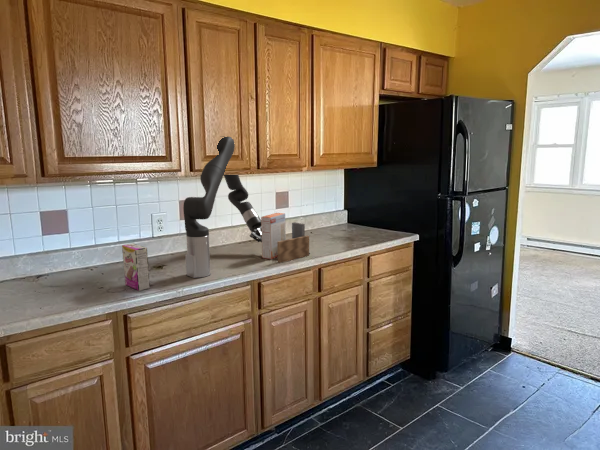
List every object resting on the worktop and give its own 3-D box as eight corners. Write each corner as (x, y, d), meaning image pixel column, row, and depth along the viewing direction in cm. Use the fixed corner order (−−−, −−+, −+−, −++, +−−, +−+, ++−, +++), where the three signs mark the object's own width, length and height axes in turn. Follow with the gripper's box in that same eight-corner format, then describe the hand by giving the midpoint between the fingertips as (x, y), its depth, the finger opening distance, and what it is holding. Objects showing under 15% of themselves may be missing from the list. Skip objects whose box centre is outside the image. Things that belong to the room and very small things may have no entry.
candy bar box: (124, 285, 169) (121, 244, 166) (136, 282, 173) (133, 242, 170) (138, 291, 162) (135, 249, 159) (150, 288, 165) (147, 247, 162)
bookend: (301, 256, 214) (301, 224, 211) (292, 253, 219) (291, 222, 216) (310, 253, 218) (310, 223, 216) (300, 251, 223) (300, 221, 220)
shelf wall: (279, 262, 202) (279, 242, 200) (277, 262, 203) (277, 241, 201) (309, 255, 215) (309, 235, 214) (307, 254, 217) (307, 235, 215)
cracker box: (276, 252, 222) (276, 212, 218) (286, 253, 219) (286, 213, 216) (261, 258, 210) (260, 216, 206) (271, 259, 207) (271, 217, 203)
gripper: (245, 217, 215) (261, 244, 208) (265, 214, 224) (281, 240, 218) (239, 226, 219) (254, 253, 213) (259, 222, 229) (274, 249, 222)
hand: (268, 246), depth 215 cm, fingers closed
